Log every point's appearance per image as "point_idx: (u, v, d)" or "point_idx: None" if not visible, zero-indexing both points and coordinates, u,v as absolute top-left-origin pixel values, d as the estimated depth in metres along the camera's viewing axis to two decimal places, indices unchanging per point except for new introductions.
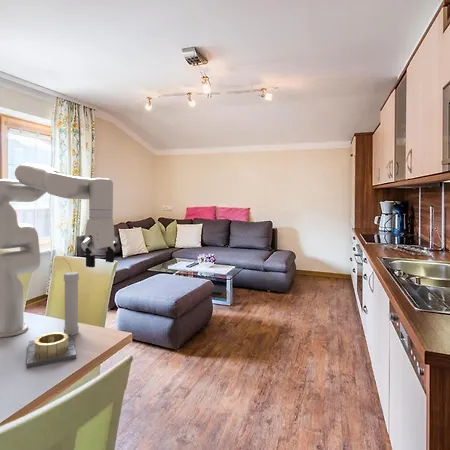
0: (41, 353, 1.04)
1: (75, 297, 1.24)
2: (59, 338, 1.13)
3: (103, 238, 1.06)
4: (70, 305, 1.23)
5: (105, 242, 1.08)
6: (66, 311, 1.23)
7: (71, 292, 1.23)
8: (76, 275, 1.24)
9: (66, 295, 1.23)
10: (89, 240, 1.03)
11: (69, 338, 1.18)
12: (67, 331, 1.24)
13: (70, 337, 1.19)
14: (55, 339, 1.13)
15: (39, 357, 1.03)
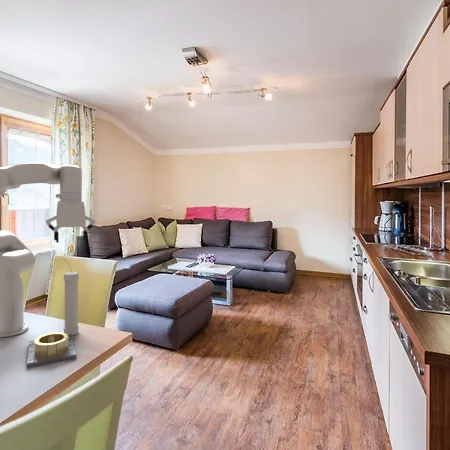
0: (41, 353, 1.04)
1: (75, 297, 1.24)
2: (59, 338, 1.13)
3: None
4: (70, 305, 1.23)
5: None
6: (66, 311, 1.23)
7: (71, 292, 1.23)
8: (76, 275, 1.24)
9: (66, 295, 1.23)
10: None
11: (69, 338, 1.18)
12: (67, 331, 1.24)
13: (70, 337, 1.19)
14: (55, 339, 1.13)
15: (39, 357, 1.03)
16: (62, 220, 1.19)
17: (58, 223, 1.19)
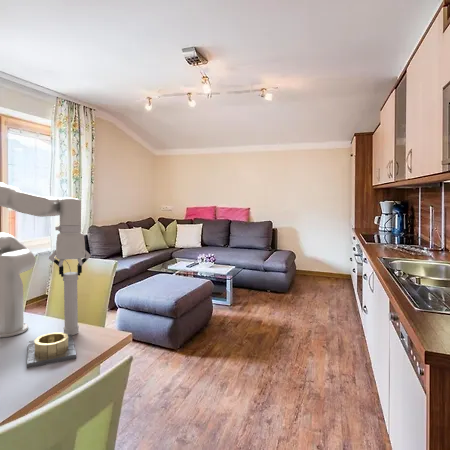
0: (41, 353, 1.04)
1: (75, 297, 1.24)
2: (59, 338, 1.13)
3: None
4: (70, 305, 1.23)
5: None
6: (66, 311, 1.23)
7: (71, 292, 1.23)
8: (75, 275, 1.24)
9: (66, 295, 1.23)
10: None
11: (69, 338, 1.18)
12: (67, 331, 1.24)
13: (70, 337, 1.19)
14: (55, 339, 1.13)
15: (39, 357, 1.03)
16: (62, 253, 1.20)
17: (58, 256, 1.20)
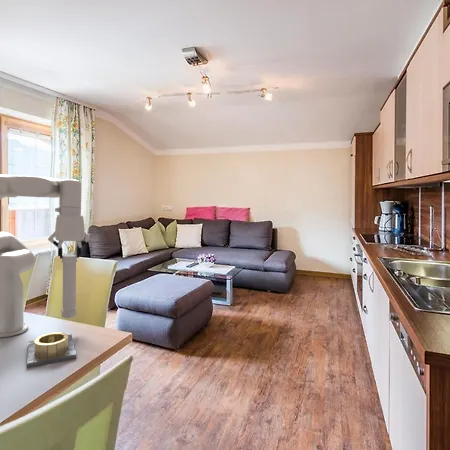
0: (41, 353, 1.04)
1: (73, 279, 1.24)
2: (59, 338, 1.13)
3: None
4: (68, 287, 1.23)
5: None
6: (64, 293, 1.23)
7: (69, 274, 1.22)
8: (74, 257, 1.23)
9: (64, 277, 1.22)
10: None
11: (69, 338, 1.18)
12: (65, 313, 1.23)
13: (70, 337, 1.19)
14: (55, 339, 1.13)
15: (39, 357, 1.03)
16: (61, 234, 1.20)
17: (57, 237, 1.19)
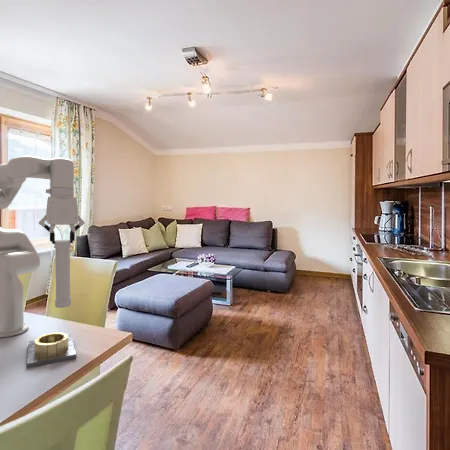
0: (41, 353, 1.04)
1: (67, 266, 1.15)
2: (59, 338, 1.13)
3: None
4: (61, 274, 1.14)
5: None
6: (57, 281, 1.14)
7: (62, 260, 1.14)
8: (68, 242, 1.15)
9: (57, 264, 1.14)
10: None
11: (69, 338, 1.18)
12: (59, 303, 1.14)
13: (70, 337, 1.19)
14: (55, 339, 1.13)
15: (39, 357, 1.03)
16: (53, 217, 1.11)
17: (48, 220, 1.10)
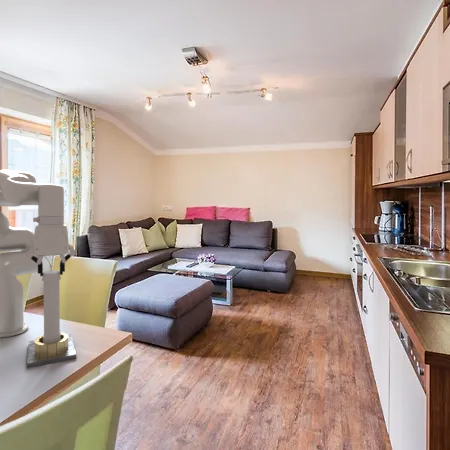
0: (41, 353, 1.04)
1: (56, 300, 1.06)
2: None
3: None
4: (50, 309, 1.05)
5: None
6: (45, 316, 1.06)
7: (51, 294, 1.05)
8: (57, 274, 1.06)
9: (45, 298, 1.05)
10: None
11: (69, 338, 1.18)
12: (47, 340, 1.06)
13: (70, 337, 1.19)
14: None
15: (39, 357, 1.03)
16: (40, 248, 1.02)
17: (35, 252, 1.02)
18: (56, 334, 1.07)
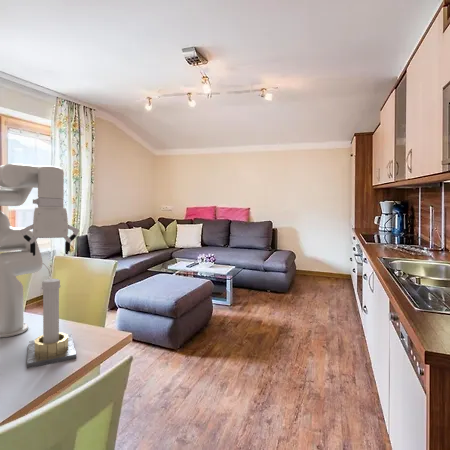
0: (41, 353, 1.04)
1: (55, 308, 1.07)
2: (59, 338, 1.13)
3: None
4: (49, 317, 1.06)
5: None
6: (45, 324, 1.06)
7: (51, 302, 1.06)
8: (57, 282, 1.06)
9: (45, 306, 1.06)
10: None
11: (69, 338, 1.18)
12: None
13: (70, 337, 1.19)
14: None
15: (39, 357, 1.03)
16: (39, 230, 1.02)
17: (35, 233, 1.02)
18: None
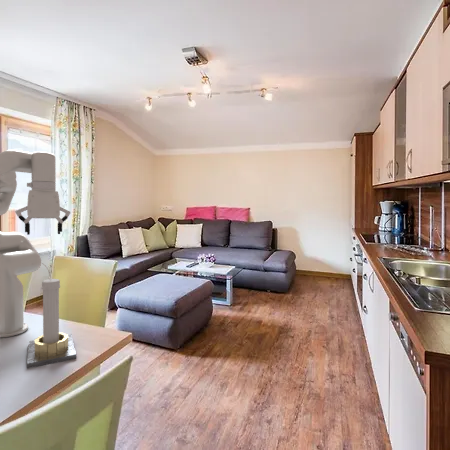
0: (41, 353, 1.04)
1: (55, 308, 1.07)
2: (59, 338, 1.13)
3: None
4: (49, 317, 1.06)
5: None
6: (45, 324, 1.06)
7: (50, 302, 1.06)
8: (56, 283, 1.06)
9: (45, 306, 1.06)
10: None
11: (69, 338, 1.18)
12: None
13: (70, 337, 1.19)
14: None
15: (39, 357, 1.03)
16: (33, 211, 1.11)
17: (29, 214, 1.11)
18: None
